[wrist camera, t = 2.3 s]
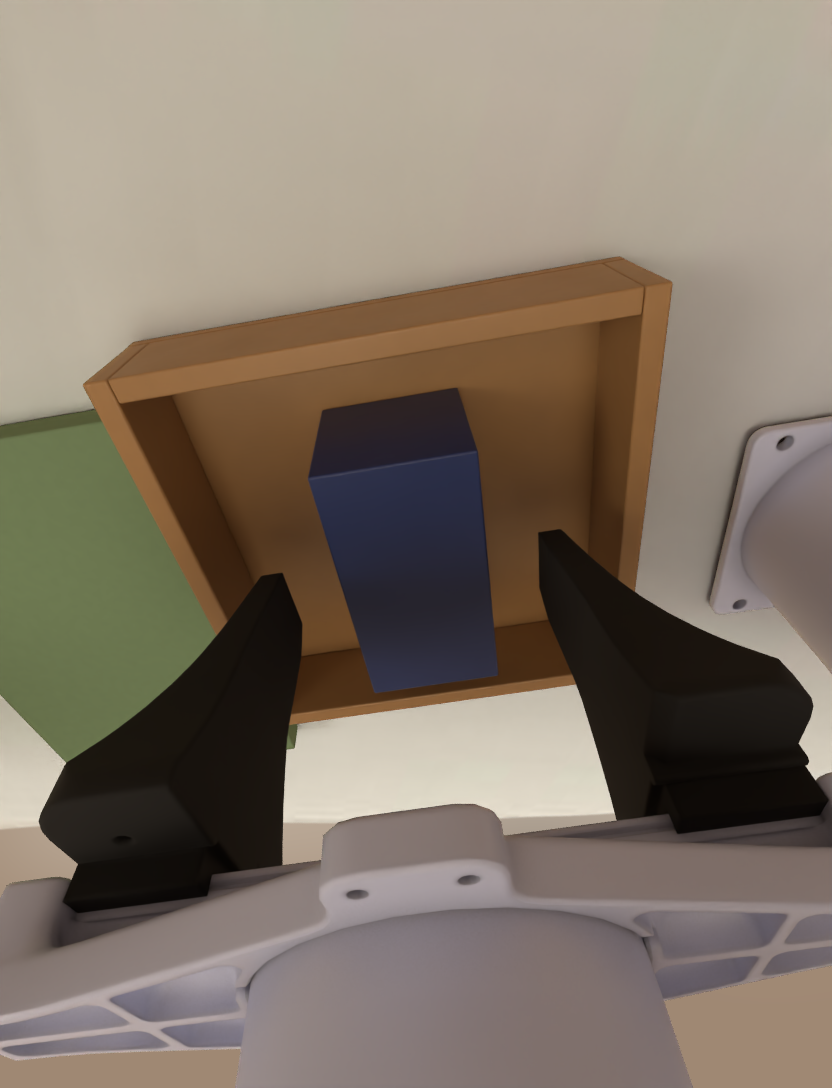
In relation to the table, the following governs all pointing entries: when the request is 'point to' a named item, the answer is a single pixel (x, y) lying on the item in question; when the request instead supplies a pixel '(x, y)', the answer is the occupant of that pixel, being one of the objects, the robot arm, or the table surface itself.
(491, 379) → the open box
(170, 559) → the flat green rectangular board
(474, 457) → the navy blue rectangular prism
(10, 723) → the table surface
